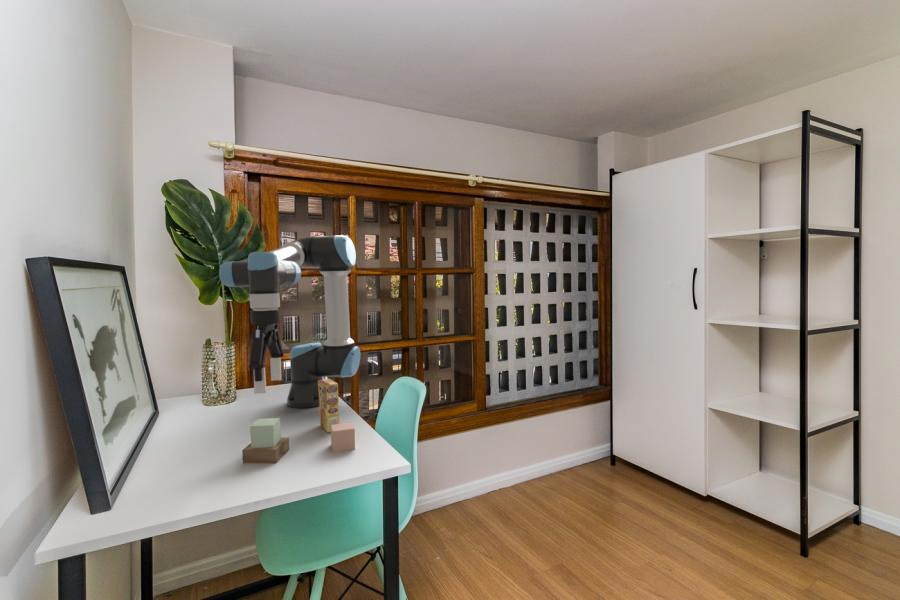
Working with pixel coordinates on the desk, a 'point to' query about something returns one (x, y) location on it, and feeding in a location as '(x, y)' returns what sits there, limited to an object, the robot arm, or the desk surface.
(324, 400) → the candy box
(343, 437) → the terracotta cube
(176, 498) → the desk surface
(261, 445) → the green cube
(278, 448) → the walnut plinth
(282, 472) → the desk surface
